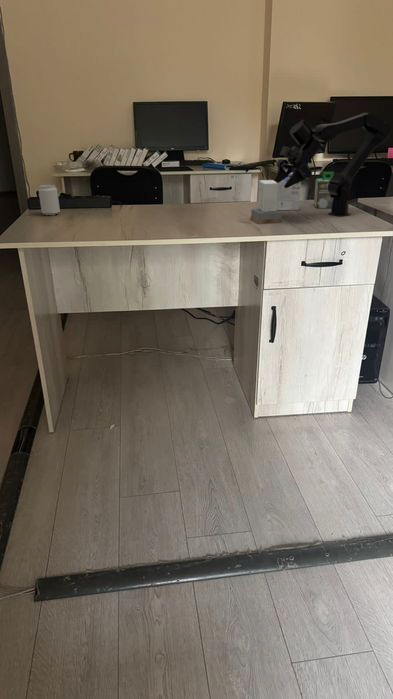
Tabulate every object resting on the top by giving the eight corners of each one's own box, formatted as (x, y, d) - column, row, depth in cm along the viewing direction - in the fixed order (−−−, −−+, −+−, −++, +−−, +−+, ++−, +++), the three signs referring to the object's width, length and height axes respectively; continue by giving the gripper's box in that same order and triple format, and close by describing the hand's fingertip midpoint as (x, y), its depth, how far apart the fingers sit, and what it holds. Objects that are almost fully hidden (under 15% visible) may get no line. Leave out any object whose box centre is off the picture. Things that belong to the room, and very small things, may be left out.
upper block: (272, 214, 202) (273, 207, 200) (281, 218, 194) (281, 212, 193) (251, 215, 200) (251, 209, 199) (259, 220, 192) (259, 213, 191)
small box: (276, 211, 193) (278, 183, 188) (262, 212, 192) (263, 183, 188) (271, 207, 200) (273, 179, 195) (257, 207, 199) (259, 179, 195)
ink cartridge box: (298, 208, 221) (300, 173, 215) (299, 210, 216) (302, 174, 210) (275, 208, 222) (277, 173, 215) (276, 210, 217) (278, 175, 210)
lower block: (271, 220, 203) (271, 214, 202) (280, 224, 195) (281, 218, 194) (250, 221, 201) (250, 215, 200) (259, 226, 193) (259, 219, 192)
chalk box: (334, 205, 227) (337, 170, 220) (337, 208, 219) (341, 172, 212) (313, 204, 228) (316, 170, 221) (315, 208, 220) (318, 172, 213)
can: (57, 216, 212) (53, 186, 207) (39, 216, 212) (35, 186, 207) (62, 212, 219) (58, 183, 214) (45, 213, 219) (40, 184, 214)
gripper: (282, 136, 195) (255, 168, 196) (307, 139, 179) (277, 174, 180) (298, 157, 201) (272, 188, 202) (324, 161, 185) (295, 195, 186)
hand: (278, 185), depth 193 cm, fingers open, 9 cm apart
